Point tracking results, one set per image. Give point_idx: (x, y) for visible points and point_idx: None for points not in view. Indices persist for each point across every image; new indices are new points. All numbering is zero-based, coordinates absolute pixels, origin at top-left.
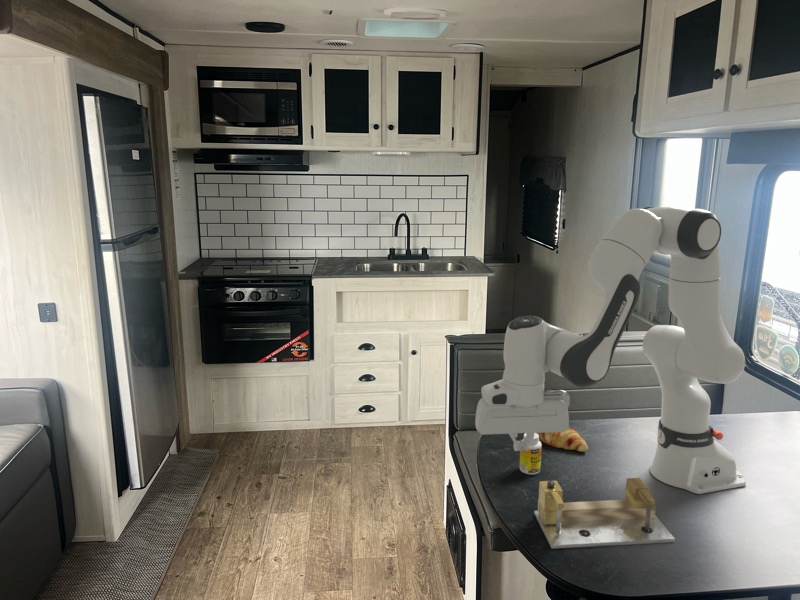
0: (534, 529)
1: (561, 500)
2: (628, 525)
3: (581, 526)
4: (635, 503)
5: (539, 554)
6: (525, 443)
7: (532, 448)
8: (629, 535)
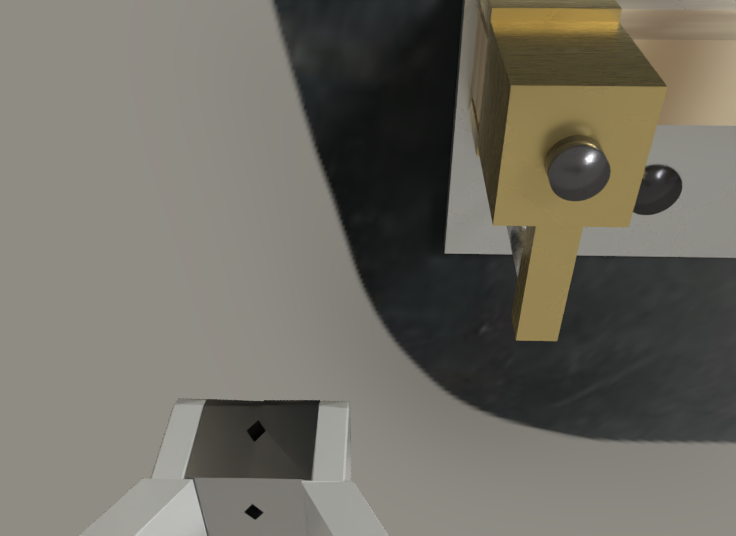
0: (413, 100)
1: (557, 314)
2: None
3: (671, 137)
4: None
5: (377, 268)
6: (309, 534)
7: None
8: None
